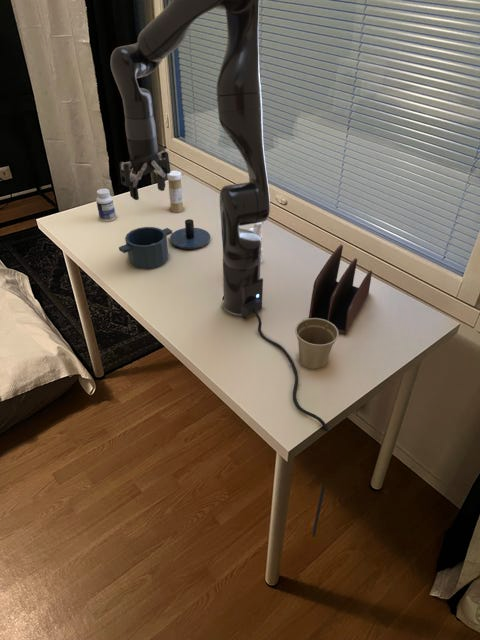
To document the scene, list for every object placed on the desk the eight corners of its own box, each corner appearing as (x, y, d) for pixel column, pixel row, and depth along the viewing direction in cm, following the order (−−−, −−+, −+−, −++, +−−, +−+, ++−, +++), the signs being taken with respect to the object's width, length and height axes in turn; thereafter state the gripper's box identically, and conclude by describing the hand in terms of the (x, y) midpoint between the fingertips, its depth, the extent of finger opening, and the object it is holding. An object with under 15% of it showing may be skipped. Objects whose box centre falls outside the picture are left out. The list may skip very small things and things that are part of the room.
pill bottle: (99, 215, 169) (93, 188, 163) (114, 213, 171) (110, 186, 164) (100, 222, 165) (95, 195, 159) (116, 220, 167) (112, 193, 160)
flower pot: (329, 346, 117) (334, 317, 112) (337, 374, 110) (342, 344, 105) (290, 346, 117) (292, 318, 112) (295, 375, 110) (298, 345, 104)
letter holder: (307, 324, 124) (312, 276, 115) (333, 284, 137) (340, 239, 129) (345, 336, 120) (354, 288, 111) (369, 294, 134) (378, 248, 125)
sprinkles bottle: (178, 205, 175) (176, 168, 167) (186, 210, 173) (183, 172, 164) (167, 209, 173) (164, 172, 165) (175, 214, 170) (172, 176, 162)
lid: (218, 240, 156) (218, 221, 152) (187, 255, 149) (185, 235, 145) (193, 226, 163) (192, 208, 159) (162, 239, 156) (160, 220, 152)
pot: (183, 255, 149) (181, 233, 144) (135, 277, 140) (132, 254, 135) (160, 241, 156) (158, 220, 151) (113, 261, 146) (109, 239, 142)
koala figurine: (256, 251, 151) (257, 215, 144) (271, 260, 147) (273, 223, 140) (234, 261, 147) (234, 224, 139) (250, 270, 143) (250, 233, 135)
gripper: (155, 124, 132) (161, 183, 141) (109, 136, 124) (118, 198, 134) (172, 131, 127) (177, 191, 137) (126, 144, 119) (134, 206, 129)
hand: (148, 194), depth 135 cm, fingers open, 8 cm apart
